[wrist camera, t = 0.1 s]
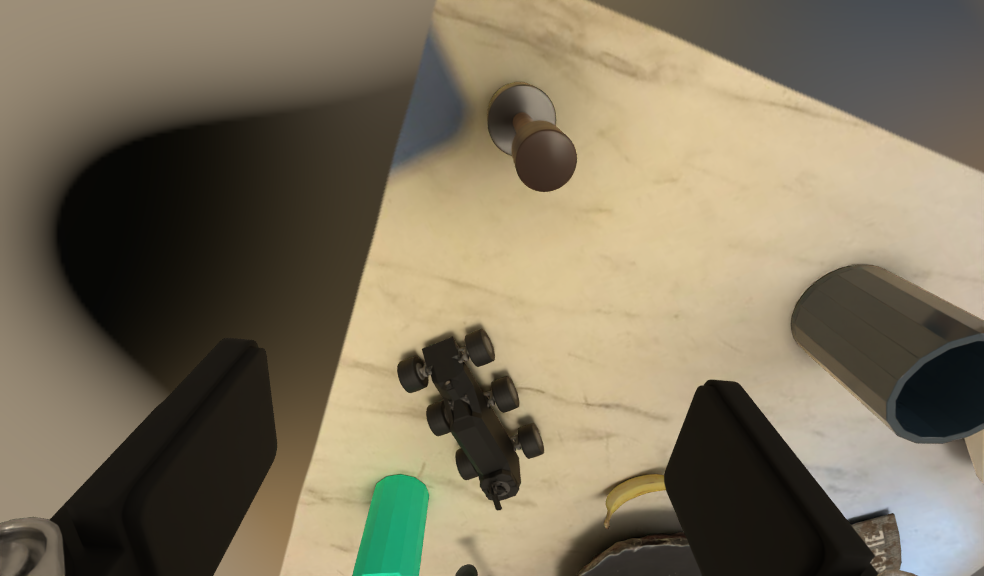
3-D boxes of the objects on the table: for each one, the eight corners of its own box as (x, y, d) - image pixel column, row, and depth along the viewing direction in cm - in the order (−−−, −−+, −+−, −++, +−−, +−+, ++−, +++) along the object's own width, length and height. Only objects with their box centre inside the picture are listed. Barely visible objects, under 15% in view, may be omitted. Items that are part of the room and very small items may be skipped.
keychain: (902, 504, 52) (917, 520, 50) (908, 596, 60) (922, 613, 58) (830, 524, 53) (842, 540, 51) (846, 612, 61) (856, 628, 59)
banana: (600, 500, 51) (608, 534, 47) (593, 491, 50) (601, 524, 47) (669, 472, 49) (684, 504, 46) (663, 462, 48) (678, 494, 45)
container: (873, 242, 38) (1010, 306, 28) (916, 313, 41) (1054, 393, 31) (772, 310, 41) (864, 391, 31) (819, 372, 44) (917, 463, 34)
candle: (412, 520, 52) (393, 640, 41) (363, 500, 50) (331, 619, 40) (439, 487, 50) (426, 606, 39) (389, 466, 48) (362, 583, 37)
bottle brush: (520, 67, 32) (553, 73, 17) (561, 116, 33) (626, 163, 18) (474, 114, 33) (466, 159, 18) (515, 159, 35) (540, 237, 19)
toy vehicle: (470, 461, 48) (467, 540, 40) (398, 352, 42) (378, 420, 34) (543, 436, 47) (555, 512, 39) (479, 319, 41) (478, 381, 33)
